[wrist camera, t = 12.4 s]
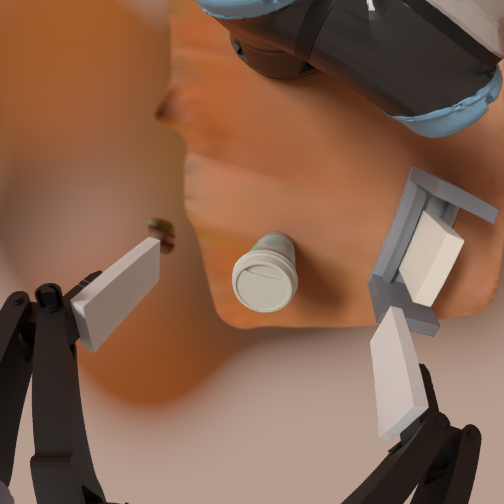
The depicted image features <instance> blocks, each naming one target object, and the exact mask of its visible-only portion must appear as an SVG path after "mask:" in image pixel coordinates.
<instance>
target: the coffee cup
mask: <svg viewBox="0 0 504 504" xmlns="http://www.w3.org/2000/svg"><path fill="white" fill-rule="evenodd" d="M232 283H233V289H234V293H235V295H236V296H237V298H238V299H239V301H240V302H241V303H242V304H243V305H245V306H246V307H248V308H250V309H252V310H254V311H258V312H274V311H277V310H279V309H281V308H283V307H284V306H285V305H286V304H287V303H289V302H290V301H291V299H292V298H293V297H294V295H295V293H296V291H297V287H298V276H297V273H296V268H295V249H294V244H293V242H292V240H291V239H290V237H288V236H287V235H286V234H284V233H281V232H276V231H275V232H269V233H267V234H265V235H264V236H263V237H262V238H261V239H260V240H259V241H258V242H257V243H256V244H255V245H254V247H253V248H252V249H251V250H250V251H249V252H248V253H247V254H245V255H243V256H242V257H241V258H240V259H239V260H238V261H237V263H236V264H235V266H234V269H233V273H232Z"/></svg>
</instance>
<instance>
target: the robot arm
mask: <svg viewBox="0 0 504 504" xmlns="http://www.w3.org/2000/svg"><path fill="white" fill-rule="evenodd" d="M195 1H196V2H197V4H198V5H199V7H200V8H201V9H203V11H204V12H205V13H208V14H210V15H211V16H212V17H214V18H215V19H216V20H217V21H218V22H220V23H221V24H222V25H223V26H224V27H225V28H226V29H228V30H229V31H230V39H231V43H232V46H233V48H234V50H235V52H236V53H237V55H238V56H239V57H240V58H241V59H242V60H243V61H244V62H245V63H246V64H247V65H248V66H250V67H251V68H252V69H254V70H255V71H257V72H259V73H261V74H263V75H266V76H269V77H273V78H279V79H295V78H301V77H305V76H308V75H311V74H313V73H315V72H317V71H319V70H321V71H323V72H325V73H327V74H328V75H330V76H332V77H334V78H335V79H337V80H339V81H340V82H342V83H344V84H345V85H347V86H348V87H350V88H352V89H353V90H355V91H356V92H358V93H359V94H361V95H362V96H364V97H365V98H367V99H368V100H370V101H371V102H373V103H374V104H376V105H377V106H378V107H380V108H381V109H382V111H383V112H384V113H385V114H386V115H387V116H389V117H391V118H393V119H395V120H398V121H399V122H401V123H402V124H404V125H405V126H406V127H408V128H409V129H410V130H412V131H413V132H414V133H416V134H419V135H421V136H424V137H428V138H441V137H446V136H450V135H453V134H455V133H458V132H460V131H462V130H464V129H466V128H467V127H469V126H470V125H472V124H473V123H475V122H476V121H477V120H478V119H480V118H481V117H482V116H483V115H484V114H485V113H486V112H487V111H488V110H489V108H488V104H489V103H491V102H494V101H496V99H497V97H498V95H499V93H500V91H501V88H502V82H503V78H502V72H501V70H500V68H499V65H498V63H499V62H500V61H501V60H502V59H503V58H504V0H195ZM159 256H160V240H157V239H154V238H151V237H148V238H147V239H145V240H144V241H143V242H141V243H140V244H139V245H137V246H136V247H135V248H133V249H132V250H131V251H130V252H128V253H127V254H126V255H125V256H123V257H122V258H121V259H120V260H118V261H117V262H116V263H115V264H113V265H112V266H111V267H109V268H108V269H107V270H106V271H105V272H102V271H97V272H94V273H92V274H90V275H89V276H87V277H86V278H85V279H84V280H83V281H81V282H80V283H79V284H78V285H76V286H75V287H74V288H72V289H71V290H70V291H69V292H68V293H67V294H65V295H64V296H62V292H61V288H60V287H59V286H58V285H57V284H54V283H47V284H43V285H42V286H40V287H38V288H37V289H36V291H35V297H36V300H37V303H36V302H31V301H30V299H29V295H28V294H27V293H26V292H24V291H18V292H14V293H12V294H11V295H10V296H9V297H8V298H7V300H6V301H5V303H4V305H3V307H2V309H1V310H0V504H14V498H13V496H12V495H11V493H10V491H9V489H8V486H9V484H10V480H11V476H12V470H13V464H14V455H15V448H16V441H17V435H18V430H19V424H20V419H21V414H22V410H23V405H24V401H25V397H26V393H27V389H28V386H29V382H30V378H31V375H32V417H33V434H34V445H35V455H34V456H32V457H31V460H30V467H31V474H32V480H33V485H34V491H35V496H36V500H37V504H118V503H108V502H106V499H105V496H104V493H103V490H102V488H101V486H100V484H99V481H98V480H97V477H96V474H95V471H94V467H93V463H92V459H91V455H90V451H89V446H88V441H87V435H86V430H85V425H84V419H83V412H82V405H81V397H80V389H79V378H78V366H77V350H76V349H77V348H76V344H75V342H76V341H77V340H78V339H79V338H80V340H81V344H82V346H83V347H85V348H87V349H88V350H90V351H92V352H95V351H96V350H97V349H98V348H99V347H100V346H101V344H102V343H103V342H104V341H105V340H106V338H108V336H109V335H110V334H111V333H112V332H113V331H114V330H115V328H116V327H117V326H118V325H119V324H120V323H121V322H122V321H123V319H124V318H125V317H126V316H127V315H128V314H129V313H130V312H131V311H132V309H133V308H134V307H135V306H136V305H137V304H138V303H139V302H140V301H141V299H142V298H143V297H144V296H145V295H146V294H147V293H148V292H149V291H150V290H151V289H152V287H154V285H155V284H156V283H157V282H158V281H159ZM370 346H371V354H372V361H373V370H374V380H375V390H376V402H377V416H378V438H379V439H381V440H394V439H395V438H396V437H397V436H398V435H399V434H400V438H401V441H400V442H399V443H397V444H396V445H395V446H394V447H392V448H391V449H390V450H389V451H388V452H390V453H389V454H388V455H387V456H386V458H385V459H384V460H383V461H382V462H381V463H380V465H379V466H378V467H377V468H376V469H375V470H374V471H373V472H372V473H371V474H370V476H369V477H368V478H367V479H366V480H365V481H364V482H363V483H362V484H361V485H360V486H359V487H358V488H357V489H356V490H355V491H354V492H353V493H352V494H351V495H350V496H348V497H347V498H346V499H345V500H344V501H343V502H342V503H341V504H403V503H404V502H405V500H406V499H407V498H408V497H409V495H410V494H411V493H412V491H413V490H414V488H415V487H416V486H417V484H418V483H419V484H418V486H417V488H416V491H415V493H414V496H413V498H412V500H411V502H410V504H468V502H469V499H470V495H471V491H472V487H473V483H474V479H475V474H476V470H477V465H478V459H479V453H480V447H481V433H480V431H479V429H478V428H477V427H476V426H474V425H472V424H469V425H466V426H465V427H464V428H463V429H462V430H461V429H458V428H455V427H453V426H450V421H449V419H448V418H447V417H446V415H445V414H443V413H441V412H439V409H438V404H437V400H436V396H435V392H434V389H433V384H432V382H431V381H432V380H431V376H430V373H429V371H428V369H427V368H426V366H425V365H424V364H419V363H418V360H417V356H416V353H415V349H414V345H413V342H412V339H411V335H410V332H409V329H408V326H407V323H406V319H405V316H404V313H403V310H402V309H401V308H397V307H393V306H390V308H389V309H388V311H387V313H386V315H385V317H384V319H383V320H382V322H381V324H380V326H379V327H378V329H377V331H376V333H375V334H374V336H373V338H372V340H371V341H370ZM125 504H128V503H125Z"/></svg>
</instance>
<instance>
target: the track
mask: <svg viewBox="0 0 504 504" xmlns="http://www.w3.org/2000/svg"><path fill="white" fill-rule="evenodd" d="M459 208H462V209H464V210H467V211H469V212H471V213H473V214H475V215H477V216H479V217H481V218H482V219H484V220H486V221H488V222H490V223H492V224H494V222H495V219H496V216H497V214H498V211H499V210H498V209H497V208H495V207H494V206H492V205H490V204H489V203H487V202H486V201H484V200H482V199H481V198H479V197H477V196H475V195H474V194H472V193H470V192H468V191H467V190H465V189H463V188H461V187H459V186H457V185H455V184H453V183H451V182H449V181H447V180H445V179H443V178H440V177H438V176H436V175H434V174H432V173H429V172H427V171H425V170H423V169H420V168H418V167H415V166H413V165H411V168H410V171H409V174H408V178H407V181H406V184H405V187H404V190H403V193H402V196H401V198H400V201H399V204H398V207H397V210H396V212H395V215H394V218H393V221H392V223H391V226H390V228H389V231H388V233H387V236H386V238H385V241H384V243H383V246H382V248H381V251H380V253H379V255H378V258H377V260H376V262H375V265H374V267H373V269H372V272H371V274H370V276H369V278H368V280H367V282H368V286H369V290H370V295H371V299H372V304H373V308H374V313H375V318H376V323H380V324H381V322H382V320H383V319H384V317H385V315H386V313H387V311H388V309H389V308H390V306H393V307H397V308H401V309H402V310H403V313H404V316H405V319H406V323H407V326H408V329H409V331H412V332H416V333H420V334H424V335H428V336H434V335H435V334H436V332H437V331H438V329H439V328H440V324H439V322H438V320H437V318H436V315H435V313H434V311H433V309H432V307H428V306H425V305H422V304H418V303H415V302H413V301H412V298H411V296H410V293H409V291H408V289H407V286H406V284H405V282H404V280H403V277H402V275H401V273H400V271H399V269H398V265H399V263H400V261H401V259H402V257H403V254H404V252H405V250H406V248H407V245H408V243H409V241H410V238H411V236H412V233H413V231H414V228H415V226H416V223H417V221H418V218H419V216H420V213H421V210H422V209H424V210H427V211H429V212H431V213H434V214H436V215H438V216H439V217H440V218H441V219H442V220H443V221H444V222H446V223H447V224H448V225H449V226H450V227H451V228H452V226H453V224H454V221H455V219H456V216H457V214H458V211H459Z"/></svg>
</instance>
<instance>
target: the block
mask: <svg viewBox="0 0 504 504" xmlns="http://www.w3.org/2000/svg"><path fill="white" fill-rule="evenodd" d="M463 243H464V240H463V239H462V238H461V237H460V236H459V235H458V234H457V233H456V232H455V231H454V230H453V229H452V228H451V227H450V226H449V225H448V224H447V223H446V222H444V221H443V220H442V219H441V218H440V217H439V216H438V215H436V214H434V213H431V212H429V211H427V210H424V209H422V210H421V213H420V216H419V218H418V221H417V223H416V226H415V228H414V231H413V233H412V236H411V238H410V241H409V243H408V245H407V248H406V250H405V252H404V254H403V257H402V259H401V261H400V263H399V265H398V269H399V271H400V273H401V275H402V277H403V280H404V282H405V284H406V286H407V289H408V291H409V293H410V296H411V298H412V301H413V302H415V303H418V304H422V305H425V306H428V307H431V305H432V303H433V302H434V300H435V298H436V297H437V295H438V293H439V291H440V289H441V288H442V286H443V284H444V282H445V280H446V278H447V276H448V274H449V272H450V270H451V268H452V266H453V264H454V262H455V260H456V258H457V256H458V254H459V252H460V250H461V248H462V245H463Z"/></svg>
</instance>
